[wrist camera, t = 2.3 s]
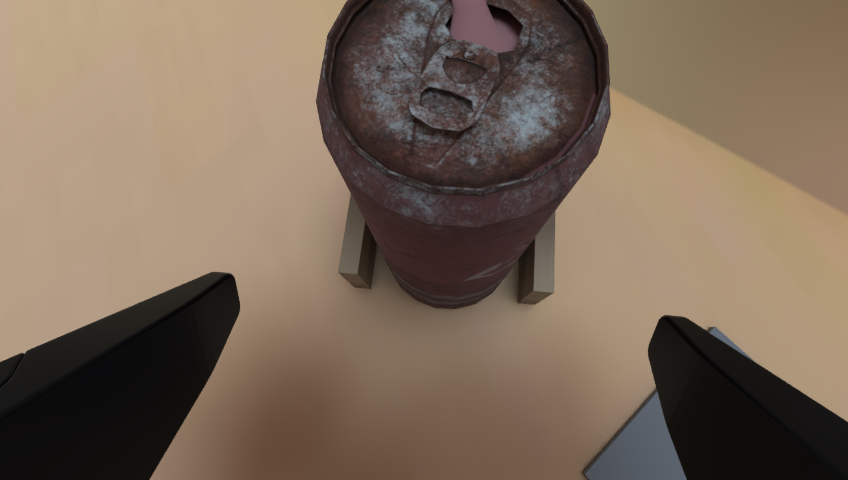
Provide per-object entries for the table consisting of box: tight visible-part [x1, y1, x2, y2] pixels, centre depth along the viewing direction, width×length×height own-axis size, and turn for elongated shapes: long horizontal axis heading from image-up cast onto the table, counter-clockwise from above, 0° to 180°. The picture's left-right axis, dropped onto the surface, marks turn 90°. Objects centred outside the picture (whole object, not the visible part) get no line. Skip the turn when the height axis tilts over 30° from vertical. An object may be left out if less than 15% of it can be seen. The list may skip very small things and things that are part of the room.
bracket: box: [338, 194, 555, 304], centre depth 20 cm, size 7×9×4 cm
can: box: [316, 0, 611, 309], centre depth 15 cm, size 6×6×14 cm
